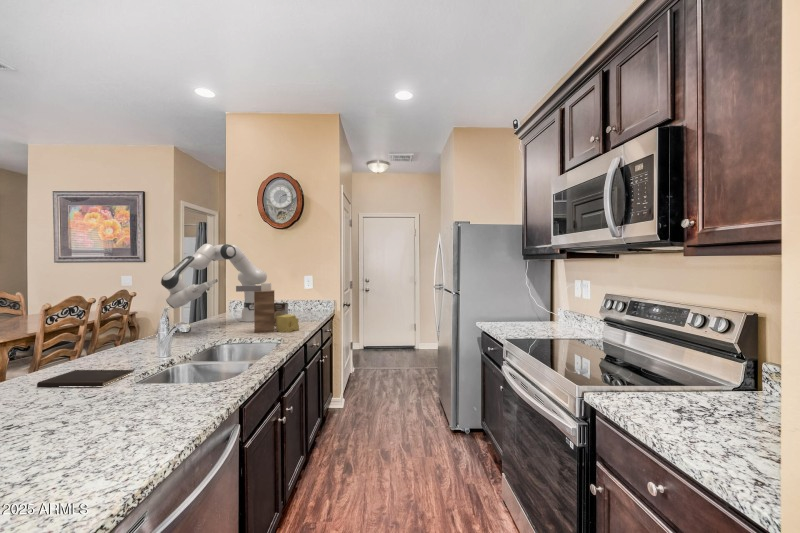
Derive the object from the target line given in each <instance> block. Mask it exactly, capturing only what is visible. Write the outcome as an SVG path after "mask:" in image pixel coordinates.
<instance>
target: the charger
mask: <svg viewBox="0 0 800 533" xmlns="http://www.w3.org/2000/svg"><path fill="white" fill-rule="evenodd" d="M271 290H272V283H271V282H264V283H261V284H256V286H242V285H236V286H235V292H237V293H238V292H241V293H242V292H243V293H244V291H271Z"/></svg>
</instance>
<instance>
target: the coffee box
mask: <svg viewBox="0 0 800 533" xmlns="http://www.w3.org/2000/svg"><path fill="white" fill-rule="evenodd" d="M286 314H289V303H288V302H274V327H276V318H277V316H282V315H286Z"/></svg>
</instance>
